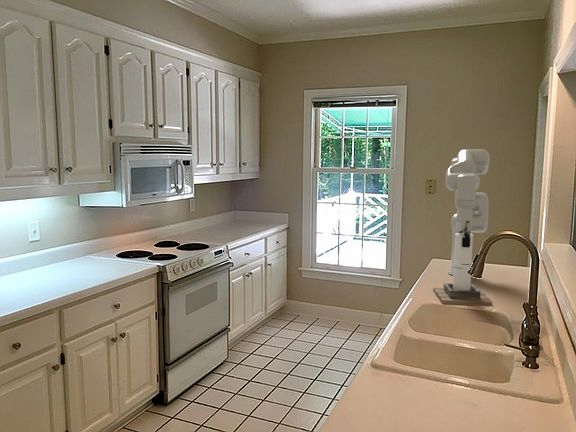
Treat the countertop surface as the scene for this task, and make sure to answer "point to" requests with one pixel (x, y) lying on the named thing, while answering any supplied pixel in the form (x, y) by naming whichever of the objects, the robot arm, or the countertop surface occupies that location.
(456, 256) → the cylindrical container
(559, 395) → the countertop surface
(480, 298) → the walnut caddy
